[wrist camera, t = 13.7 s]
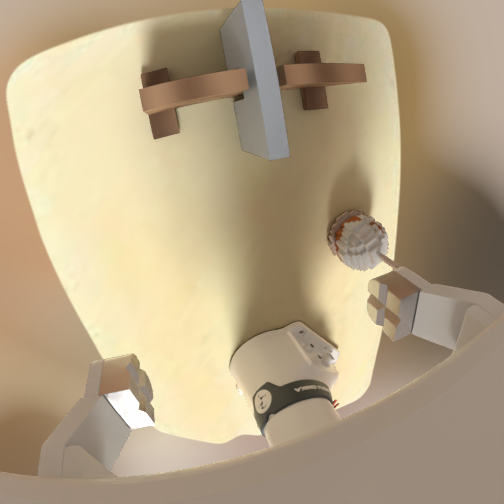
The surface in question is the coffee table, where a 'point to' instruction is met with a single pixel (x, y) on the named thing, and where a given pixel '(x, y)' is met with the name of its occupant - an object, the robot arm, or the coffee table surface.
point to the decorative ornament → (359, 241)
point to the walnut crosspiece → (240, 87)
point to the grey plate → (255, 81)
